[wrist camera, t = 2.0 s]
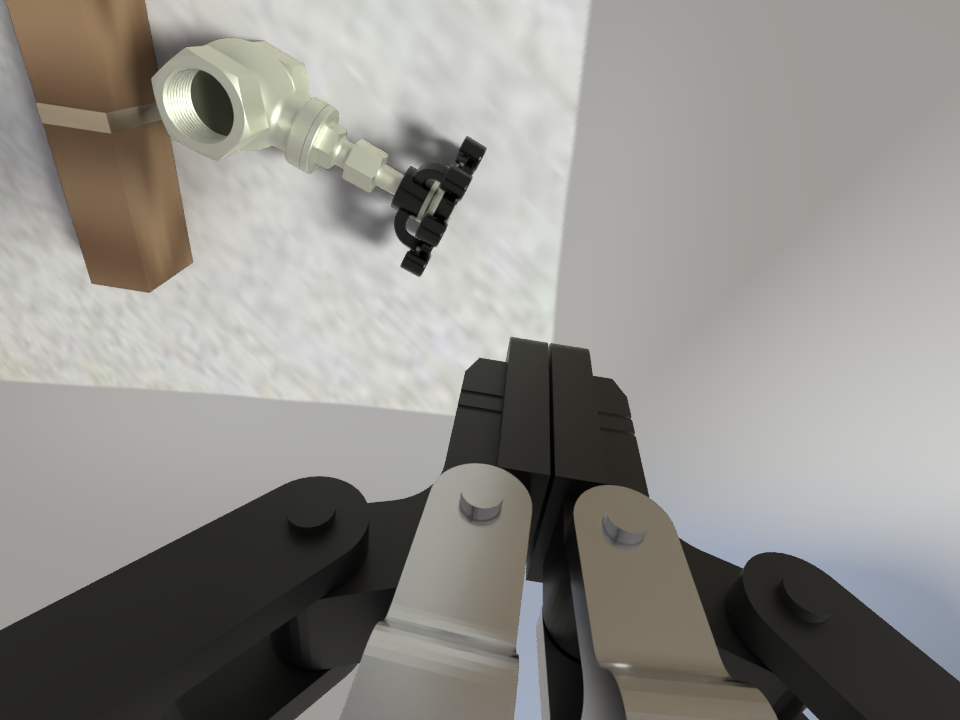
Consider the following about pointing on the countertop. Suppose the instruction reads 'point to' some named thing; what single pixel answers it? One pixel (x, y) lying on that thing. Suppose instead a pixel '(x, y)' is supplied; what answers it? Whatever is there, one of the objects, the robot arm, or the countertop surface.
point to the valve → (299, 132)
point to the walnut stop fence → (106, 135)
